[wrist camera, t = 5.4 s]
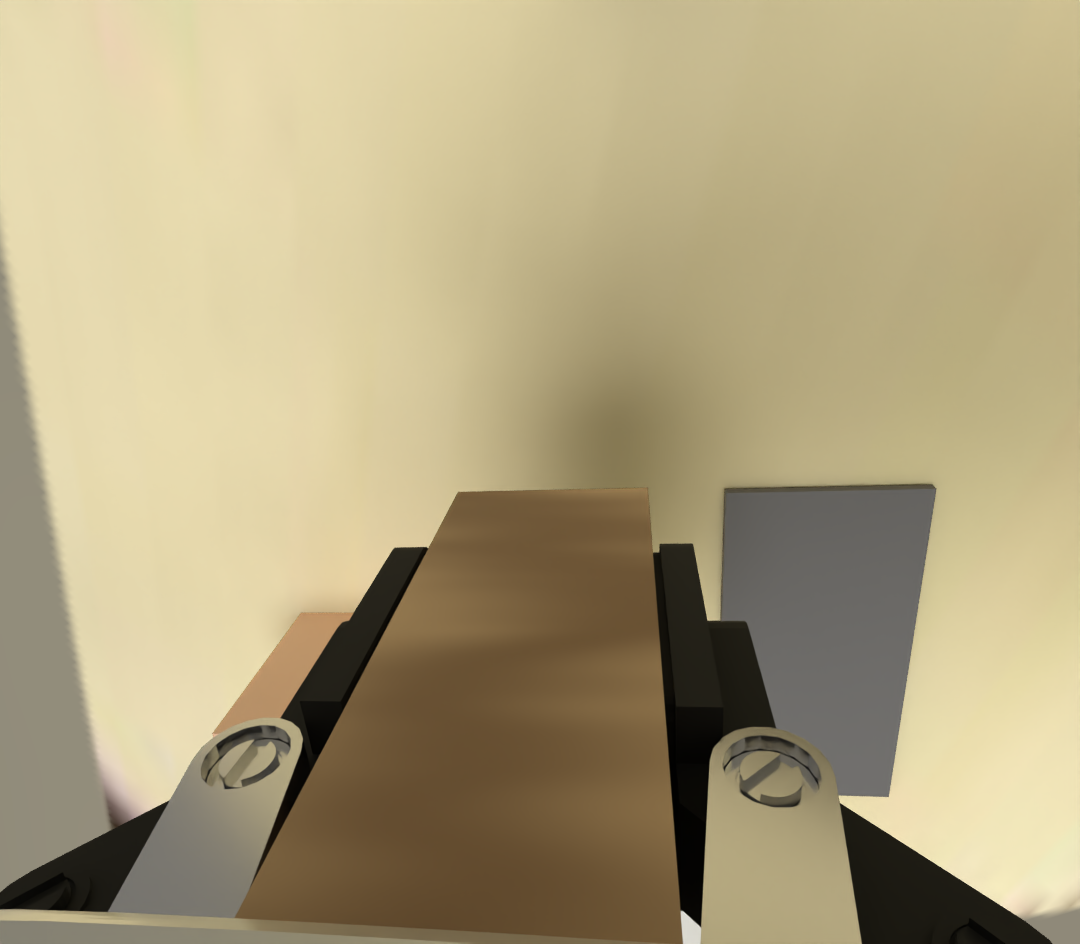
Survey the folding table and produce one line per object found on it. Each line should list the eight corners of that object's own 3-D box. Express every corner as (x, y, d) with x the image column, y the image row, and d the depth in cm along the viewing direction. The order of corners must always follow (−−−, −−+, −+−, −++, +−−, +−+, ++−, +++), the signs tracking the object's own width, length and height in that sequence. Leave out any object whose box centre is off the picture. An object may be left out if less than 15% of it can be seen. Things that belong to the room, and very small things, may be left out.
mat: (932, 484, 28) (936, 488, 28) (885, 790, 34) (888, 796, 34) (724, 489, 29) (725, 493, 29) (715, 785, 35) (716, 791, 35)
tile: (487, 612, 33) (448, 739, 25) (491, 652, 33) (455, 786, 26) (301, 612, 34) (212, 733, 26) (310, 651, 34) (226, 779, 27)
